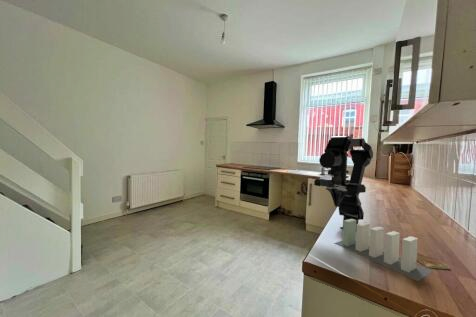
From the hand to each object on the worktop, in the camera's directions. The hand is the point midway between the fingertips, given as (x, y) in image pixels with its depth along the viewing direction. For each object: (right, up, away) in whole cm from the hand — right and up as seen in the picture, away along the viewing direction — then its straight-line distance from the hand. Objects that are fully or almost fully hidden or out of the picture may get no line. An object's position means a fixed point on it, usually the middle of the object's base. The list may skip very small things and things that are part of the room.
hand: (336, 206), depth 81 cm
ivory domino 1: (+5, -13, -9) cm, 16 cm away
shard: (+20, -15, -16) cm, 29 cm away
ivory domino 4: (+11, -14, -21) cm, 27 cm away
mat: (+7, -14, -13) cm, 20 cm away
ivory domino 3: (+9, -13, -17) cm, 23 cm away
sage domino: (+2, -13, -5) cm, 14 cm away
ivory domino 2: (+7, -13, -13) cm, 20 cm away
